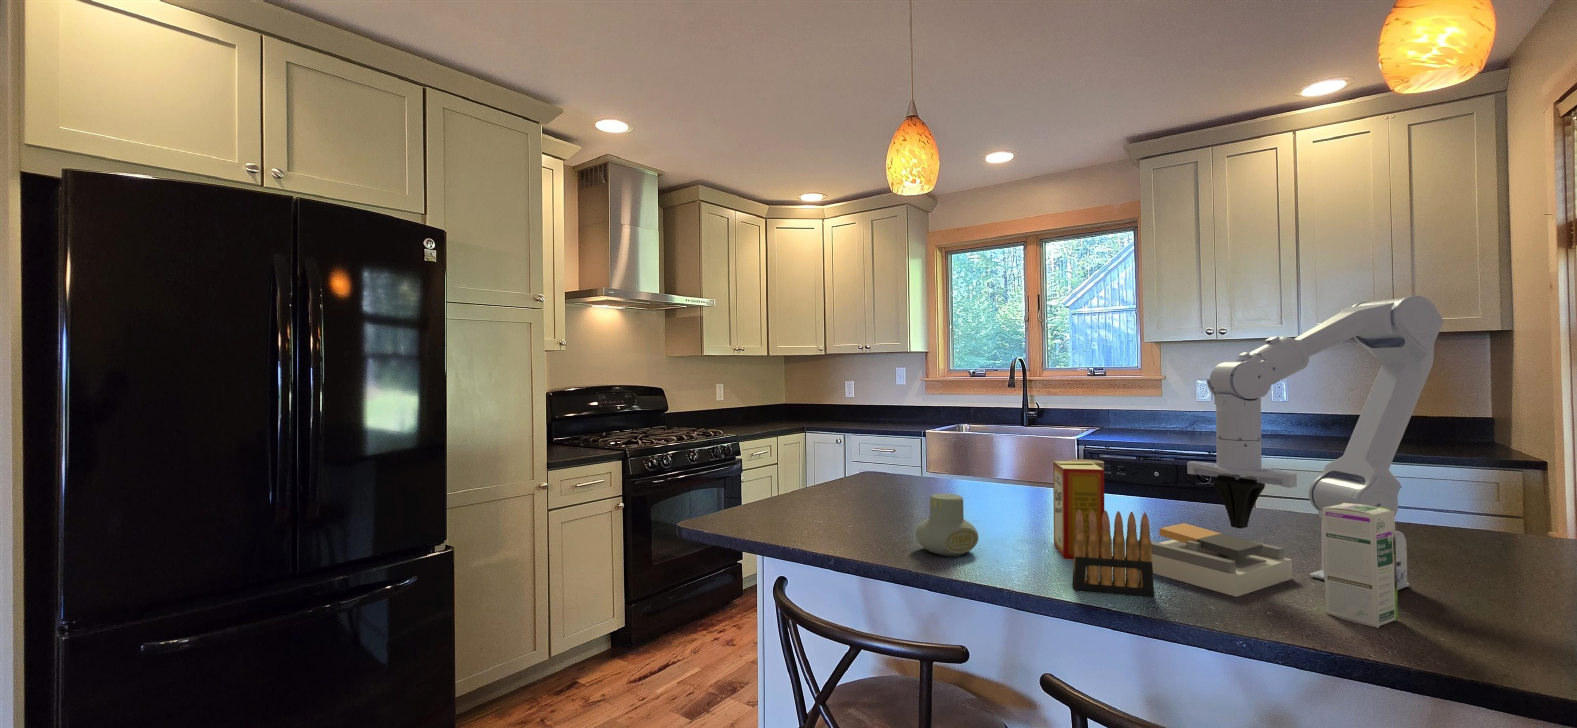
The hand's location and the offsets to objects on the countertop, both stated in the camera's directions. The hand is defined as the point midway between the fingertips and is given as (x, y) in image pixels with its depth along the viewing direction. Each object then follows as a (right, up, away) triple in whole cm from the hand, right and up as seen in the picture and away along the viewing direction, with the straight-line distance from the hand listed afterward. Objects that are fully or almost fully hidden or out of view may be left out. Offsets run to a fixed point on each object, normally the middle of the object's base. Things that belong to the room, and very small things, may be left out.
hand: (1239, 526), depth 100 cm
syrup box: (+6, -8, -15) cm, 18 cm away
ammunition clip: (-22, -9, -5) cm, 24 cm away
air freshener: (-41, -9, +17) cm, 45 cm away
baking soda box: (-18, -9, +16) cm, 25 cm away
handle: (-12, -9, +25) cm, 29 cm away
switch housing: (-2, -8, +4) cm, 9 cm away
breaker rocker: (-2, -4, +4) cm, 6 cm away
